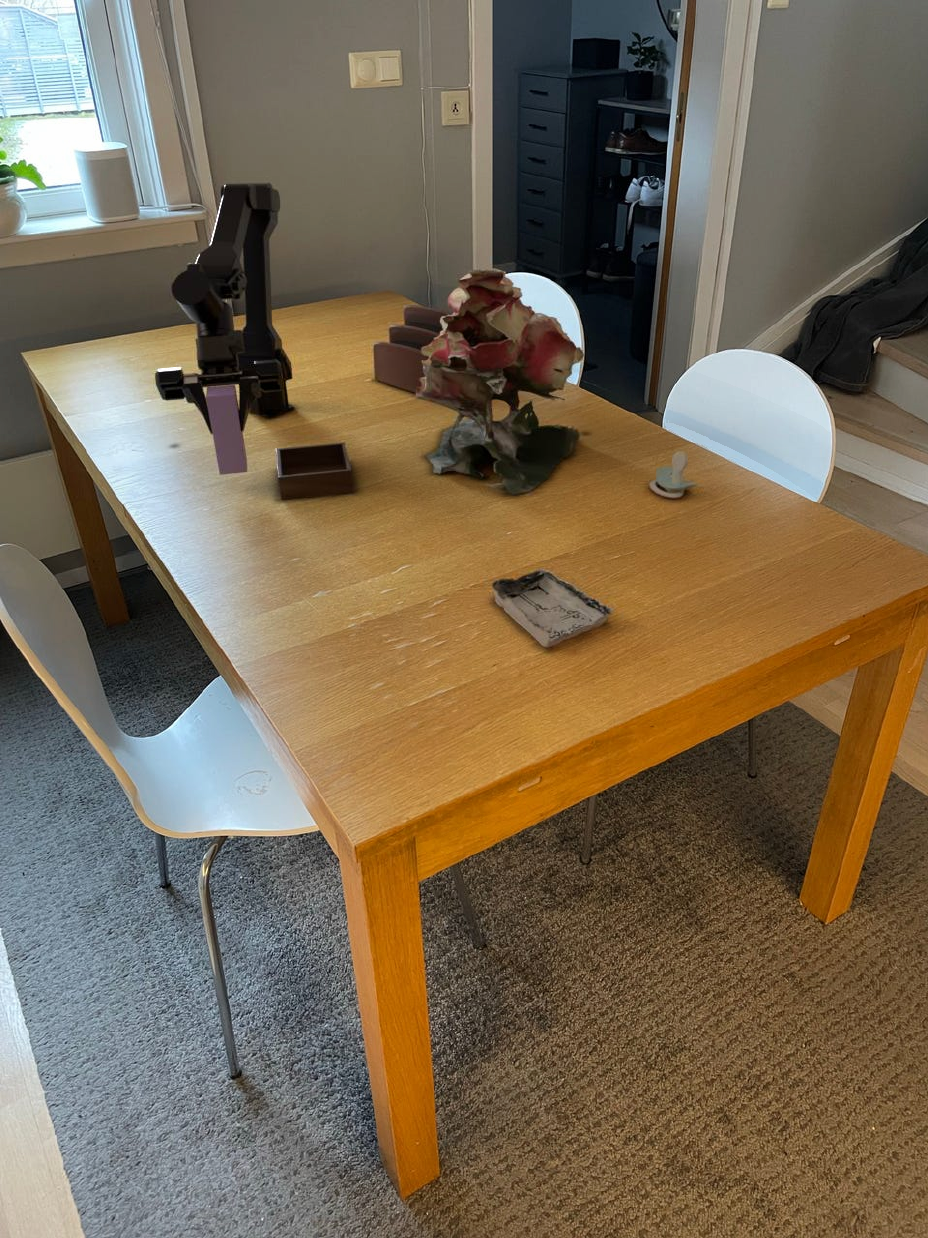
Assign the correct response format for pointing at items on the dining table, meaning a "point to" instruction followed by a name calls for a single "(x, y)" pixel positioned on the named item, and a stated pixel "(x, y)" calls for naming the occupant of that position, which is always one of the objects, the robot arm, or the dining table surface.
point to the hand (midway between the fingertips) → (226, 431)
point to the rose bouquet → (498, 382)
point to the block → (226, 429)
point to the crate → (314, 471)
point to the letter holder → (407, 347)
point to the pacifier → (676, 481)
